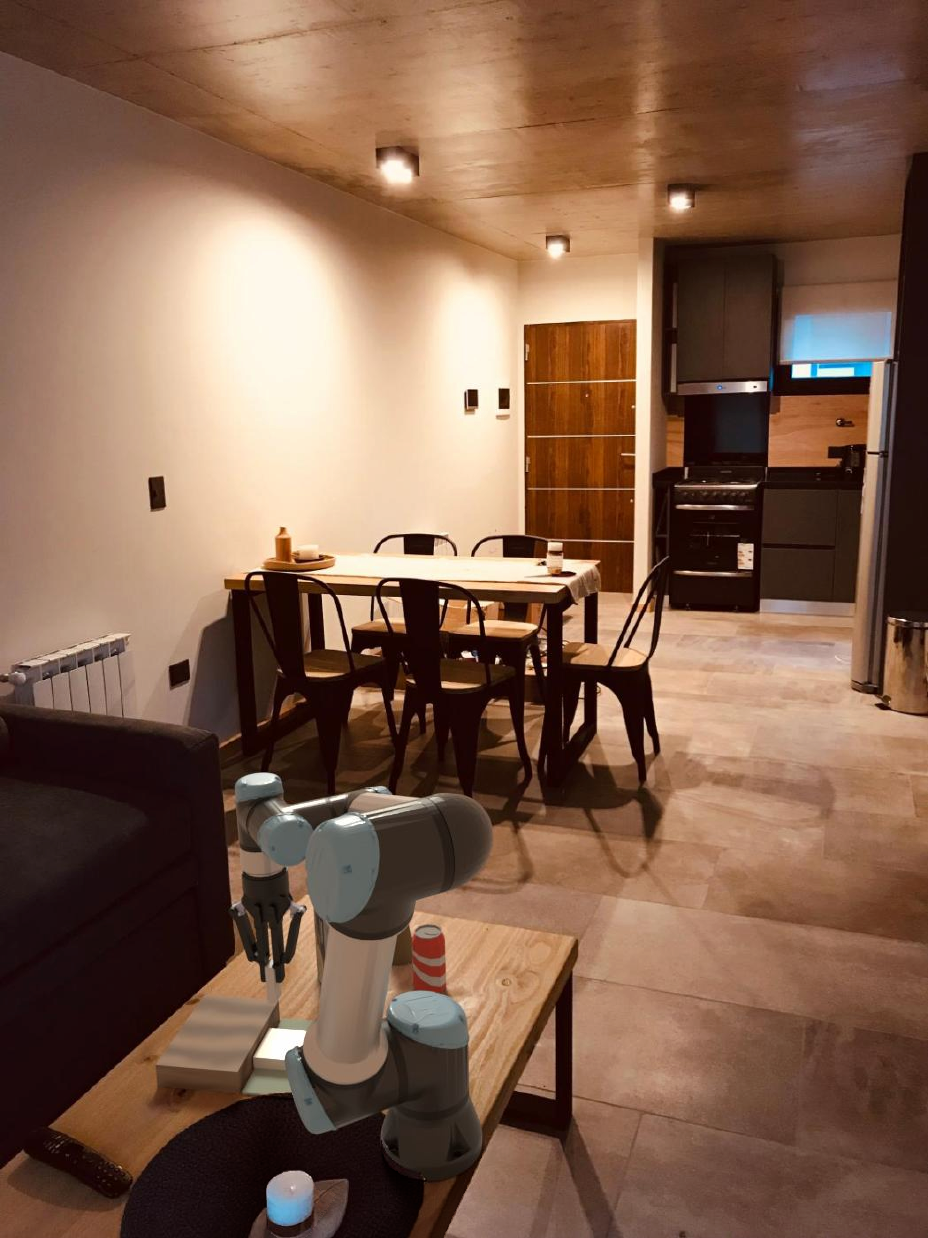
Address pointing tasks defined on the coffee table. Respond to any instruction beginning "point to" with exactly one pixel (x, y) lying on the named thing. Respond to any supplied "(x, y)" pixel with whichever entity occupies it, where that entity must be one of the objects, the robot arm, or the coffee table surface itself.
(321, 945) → the coffee box
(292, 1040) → the coaster
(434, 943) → the beverage can
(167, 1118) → the coffee table surface
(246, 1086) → the mat
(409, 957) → the pepper mill
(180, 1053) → the tan flat block
